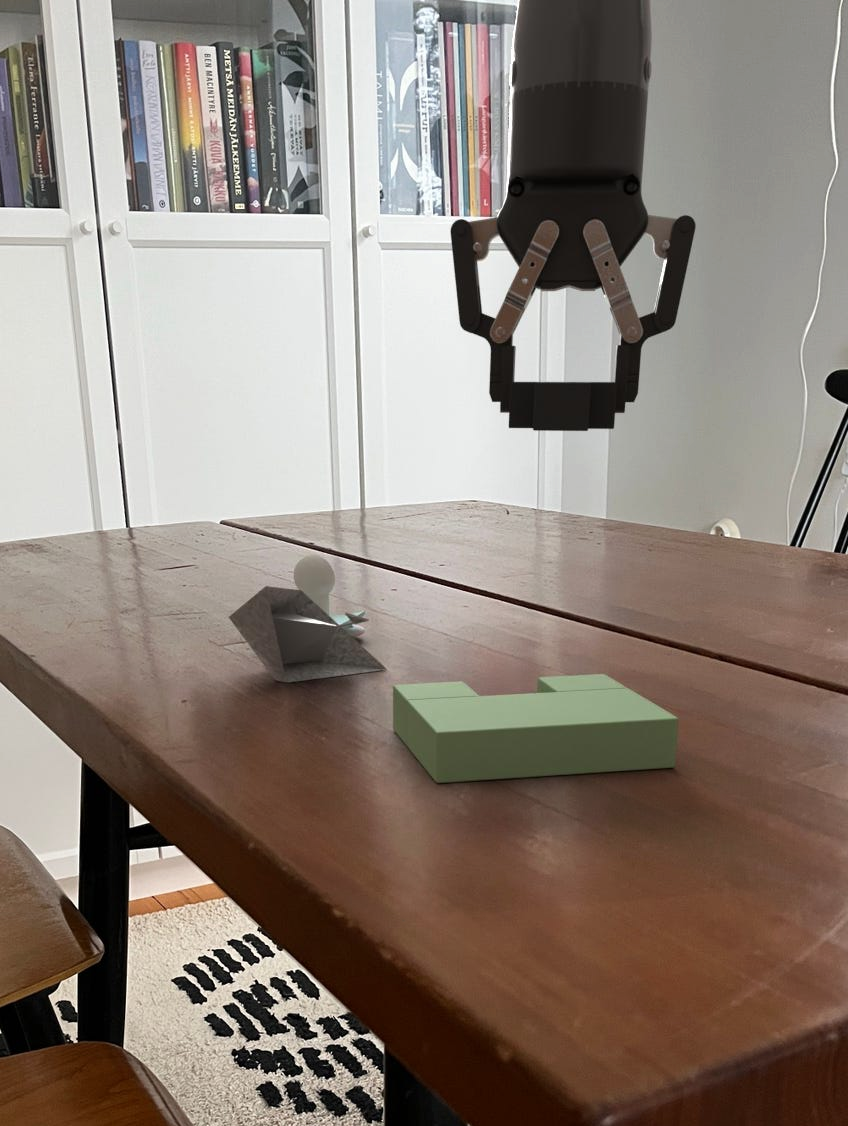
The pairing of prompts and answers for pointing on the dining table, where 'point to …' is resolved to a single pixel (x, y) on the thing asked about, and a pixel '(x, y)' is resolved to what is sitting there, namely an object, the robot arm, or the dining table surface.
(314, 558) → the pacifier
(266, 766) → the dining table surface
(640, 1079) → the dining table surface
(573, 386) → the black pad
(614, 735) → the green pad
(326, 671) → the paper boat
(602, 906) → the dining table surface
